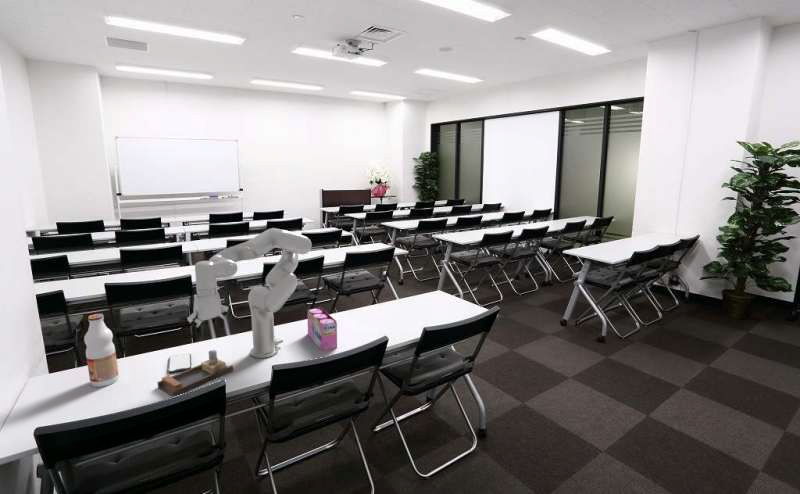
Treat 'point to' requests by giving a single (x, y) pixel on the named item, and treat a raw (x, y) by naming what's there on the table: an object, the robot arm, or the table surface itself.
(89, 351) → the fruit juice
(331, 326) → the pink multipack carton
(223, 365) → the oak slider
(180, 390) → the slide track
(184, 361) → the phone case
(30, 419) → the table surface
